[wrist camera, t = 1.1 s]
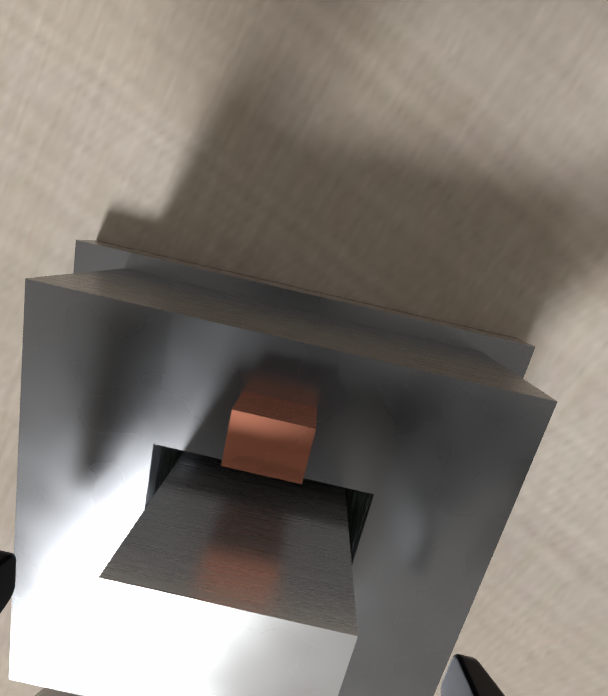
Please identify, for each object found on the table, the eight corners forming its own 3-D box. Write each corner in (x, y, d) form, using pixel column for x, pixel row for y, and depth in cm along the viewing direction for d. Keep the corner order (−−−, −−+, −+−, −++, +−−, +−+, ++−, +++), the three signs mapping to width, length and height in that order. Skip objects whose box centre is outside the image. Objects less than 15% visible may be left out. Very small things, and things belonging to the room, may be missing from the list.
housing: (519, 339, 13) (683, 416, 7) (411, 623, 16) (463, 843, 10) (95, 240, 13) (-102, 234, 7) (68, 546, 16) (-83, 723, 10)
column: (343, 426, 13) (366, 632, 6) (314, 533, 14) (304, 813, 7) (216, 397, 13) (91, 571, 6) (196, 507, 14) (71, 761, 7)
